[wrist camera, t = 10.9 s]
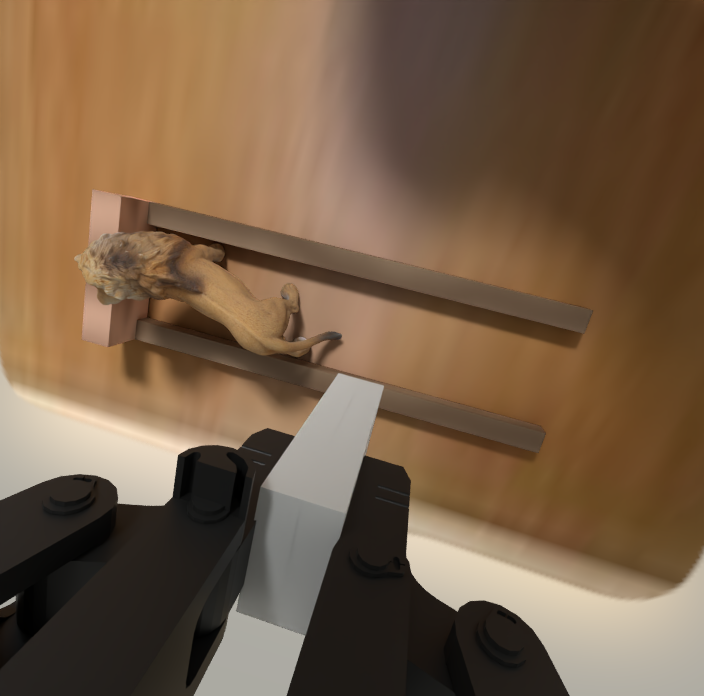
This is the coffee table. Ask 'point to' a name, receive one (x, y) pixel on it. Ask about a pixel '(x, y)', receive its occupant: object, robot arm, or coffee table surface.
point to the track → (142, 215)
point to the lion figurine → (192, 287)
